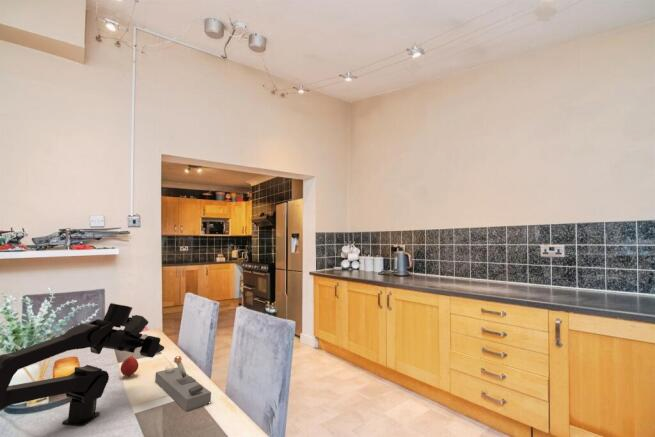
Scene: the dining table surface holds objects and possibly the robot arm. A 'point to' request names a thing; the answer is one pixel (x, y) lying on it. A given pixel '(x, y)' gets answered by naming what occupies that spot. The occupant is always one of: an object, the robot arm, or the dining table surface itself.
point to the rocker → (195, 389)
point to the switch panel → (182, 389)
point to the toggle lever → (180, 366)
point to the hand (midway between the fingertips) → (154, 346)
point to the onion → (129, 366)
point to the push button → (169, 369)
